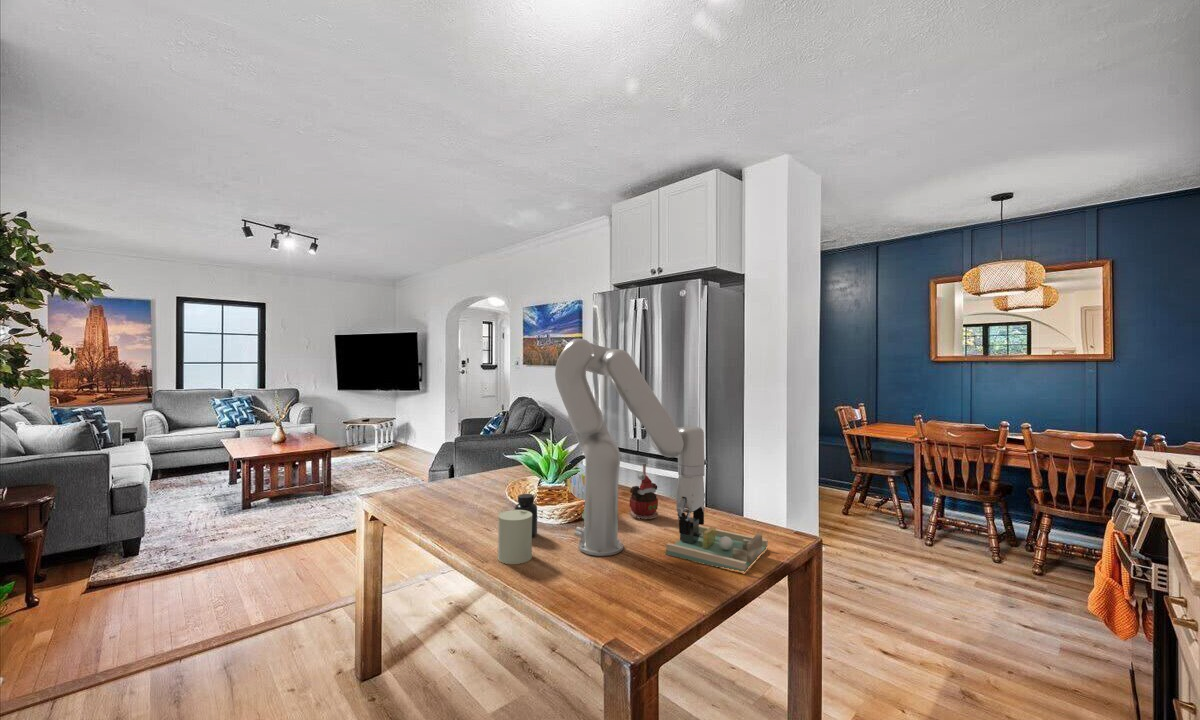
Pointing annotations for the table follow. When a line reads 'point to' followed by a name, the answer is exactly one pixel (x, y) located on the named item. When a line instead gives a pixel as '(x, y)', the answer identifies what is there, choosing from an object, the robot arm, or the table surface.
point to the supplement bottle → (528, 509)
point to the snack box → (578, 484)
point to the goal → (749, 549)
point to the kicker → (699, 534)
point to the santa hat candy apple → (644, 498)
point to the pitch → (713, 550)
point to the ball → (725, 543)
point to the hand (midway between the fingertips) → (691, 528)
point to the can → (515, 536)
